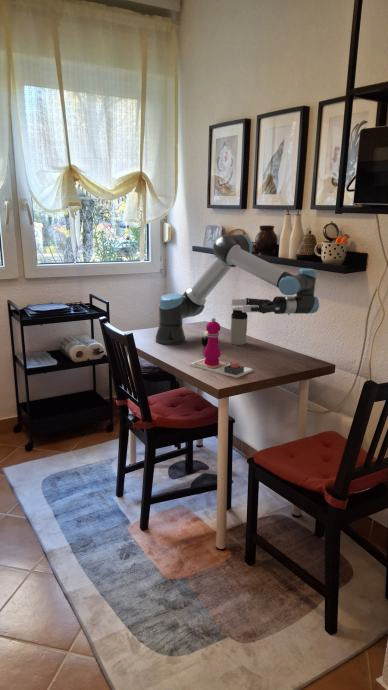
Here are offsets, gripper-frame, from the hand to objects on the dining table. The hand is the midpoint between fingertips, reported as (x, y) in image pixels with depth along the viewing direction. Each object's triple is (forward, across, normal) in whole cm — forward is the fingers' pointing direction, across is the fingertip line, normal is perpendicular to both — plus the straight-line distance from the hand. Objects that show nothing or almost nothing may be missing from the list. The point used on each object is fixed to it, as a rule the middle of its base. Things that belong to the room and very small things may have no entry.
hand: (237, 305), depth 212 cm
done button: (+4, -12, -24) cm, 27 cm away
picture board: (+7, -4, -26) cm, 27 cm away
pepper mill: (+10, 0, -26) cm, 27 cm away
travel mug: (-14, +34, -27) cm, 46 cm away
